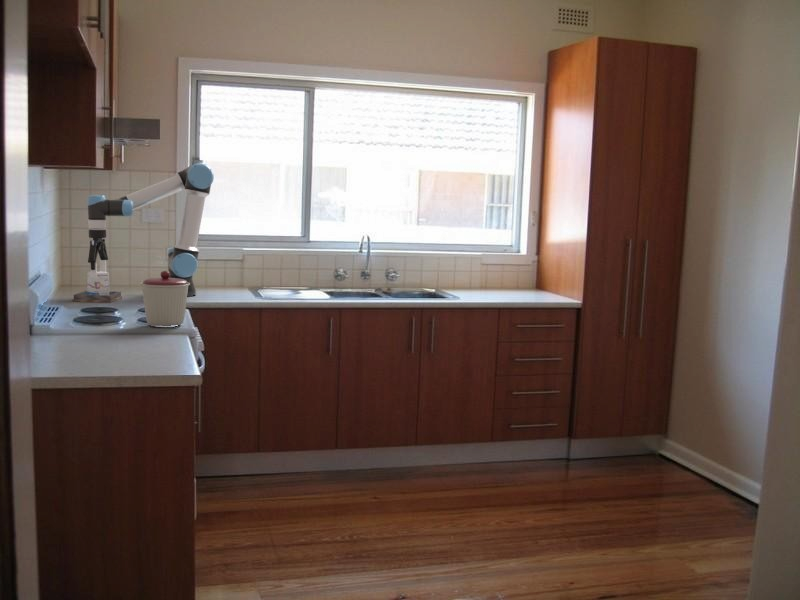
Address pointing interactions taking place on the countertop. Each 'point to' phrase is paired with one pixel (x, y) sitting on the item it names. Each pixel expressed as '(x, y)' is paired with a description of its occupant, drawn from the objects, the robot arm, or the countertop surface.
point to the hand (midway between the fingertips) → (98, 275)
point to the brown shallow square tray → (97, 297)
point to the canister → (165, 300)
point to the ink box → (98, 284)
